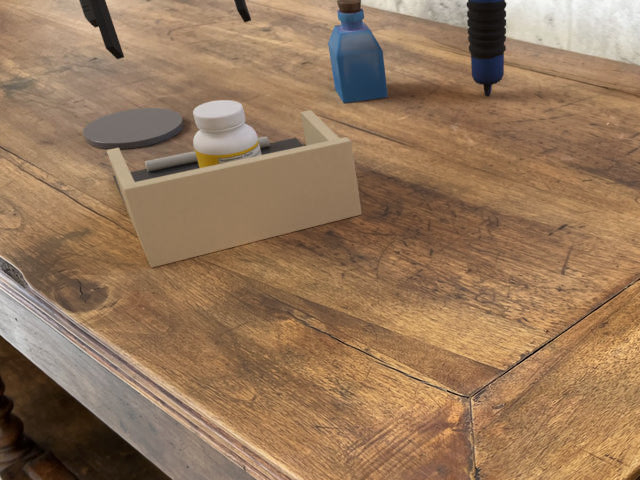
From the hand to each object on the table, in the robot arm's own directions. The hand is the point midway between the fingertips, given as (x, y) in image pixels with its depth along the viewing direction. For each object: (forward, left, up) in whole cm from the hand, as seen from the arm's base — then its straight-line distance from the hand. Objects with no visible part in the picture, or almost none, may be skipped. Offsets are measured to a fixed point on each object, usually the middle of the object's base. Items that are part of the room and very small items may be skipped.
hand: (180, 34), depth 82 cm
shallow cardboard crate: (0, -7, -15) cm, 17 cm away
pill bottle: (0, -11, -15) cm, 19 cm away
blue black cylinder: (+39, +7, -15) cm, 43 cm away
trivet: (-6, +19, -15) cm, 25 cm away
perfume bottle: (+24, +17, -15) cm, 33 cm away
